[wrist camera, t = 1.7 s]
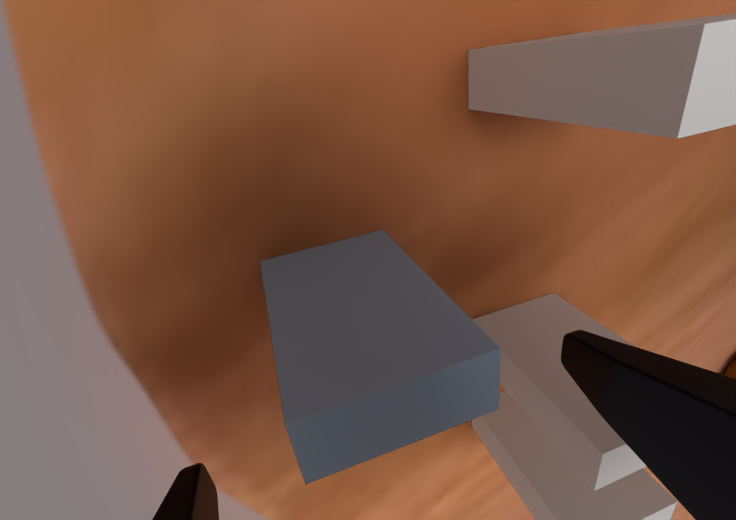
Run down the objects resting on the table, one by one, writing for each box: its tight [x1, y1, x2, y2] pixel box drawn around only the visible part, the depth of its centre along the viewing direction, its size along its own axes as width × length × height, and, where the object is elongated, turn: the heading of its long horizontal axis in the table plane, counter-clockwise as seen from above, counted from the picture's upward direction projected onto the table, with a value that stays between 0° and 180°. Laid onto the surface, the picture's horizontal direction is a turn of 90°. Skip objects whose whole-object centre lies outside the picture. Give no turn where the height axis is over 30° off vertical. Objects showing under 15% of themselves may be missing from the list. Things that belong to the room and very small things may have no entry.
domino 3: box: [472, 293, 646, 491], centre depth 17 cm, size 2×5×8 cm, turn 98°
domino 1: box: [260, 230, 501, 484], centre depth 12 cm, size 2×5×8 cm, turn 98°
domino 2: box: [468, 13, 736, 139], centre depth 11 cm, size 2×5×8 cm, turn 98°
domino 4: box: [472, 391, 677, 520], centre depth 20 cm, size 2×5×8 cm, turn 98°
